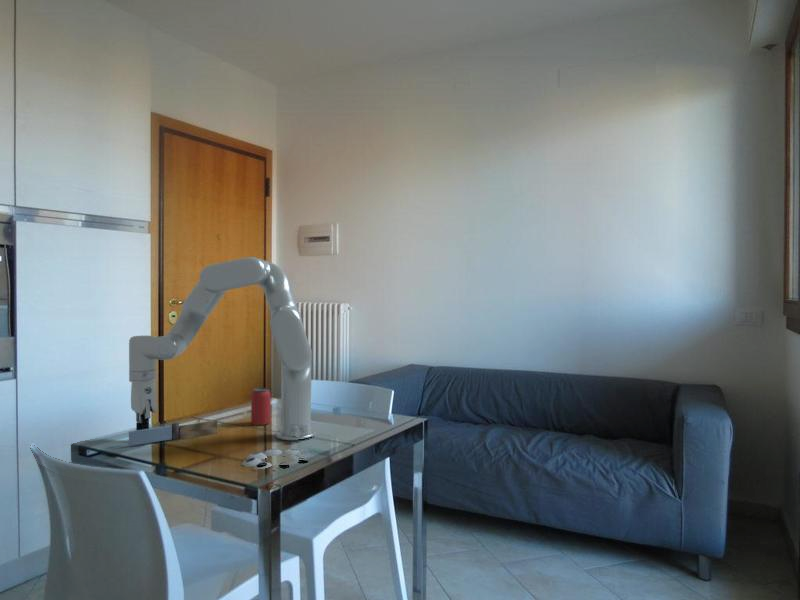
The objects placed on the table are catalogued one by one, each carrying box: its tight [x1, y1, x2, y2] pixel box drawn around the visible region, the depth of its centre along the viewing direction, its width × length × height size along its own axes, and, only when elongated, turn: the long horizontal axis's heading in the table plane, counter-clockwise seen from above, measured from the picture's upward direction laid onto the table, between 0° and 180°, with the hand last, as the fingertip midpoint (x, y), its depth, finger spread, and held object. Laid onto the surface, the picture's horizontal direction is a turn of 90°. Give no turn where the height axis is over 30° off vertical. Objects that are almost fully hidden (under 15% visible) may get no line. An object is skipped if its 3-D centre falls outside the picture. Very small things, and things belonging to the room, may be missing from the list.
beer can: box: [250, 387, 272, 426], centre depth 197 cm, size 7×7×12 cm
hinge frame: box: [171, 420, 218, 441], centre depth 178 cm, size 14×2×5 cm, turn 132°
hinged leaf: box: [128, 425, 172, 447], centre depth 169 cm, size 12×1×4 cm, turn 131°
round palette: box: [241, 448, 306, 469], centre depth 153 cm, size 20×20×2 cm
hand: (142, 434), depth 173 cm, fingers closed
